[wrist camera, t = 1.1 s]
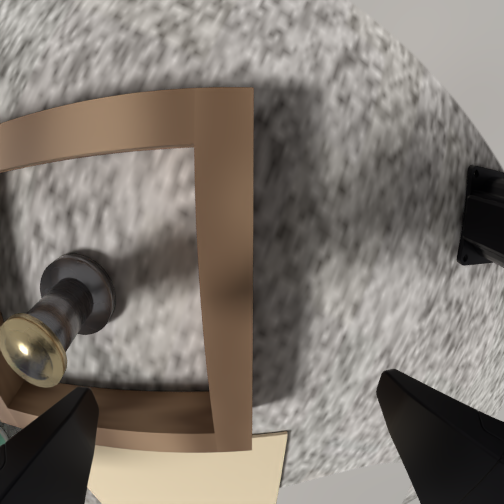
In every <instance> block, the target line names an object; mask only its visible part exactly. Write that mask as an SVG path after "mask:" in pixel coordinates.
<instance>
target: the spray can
mask: <svg viewBox="0 0 504 504" xmlns="http://www.w3.org/2000/svg"><path fill="white" fill-rule="evenodd" d="M8 440H9V439H8V436H7V434H6V433H5V431H4V430H3V429H2V428H1V427H0V446H1V445H2V444H5V442H6V441H8Z"/></svg>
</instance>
